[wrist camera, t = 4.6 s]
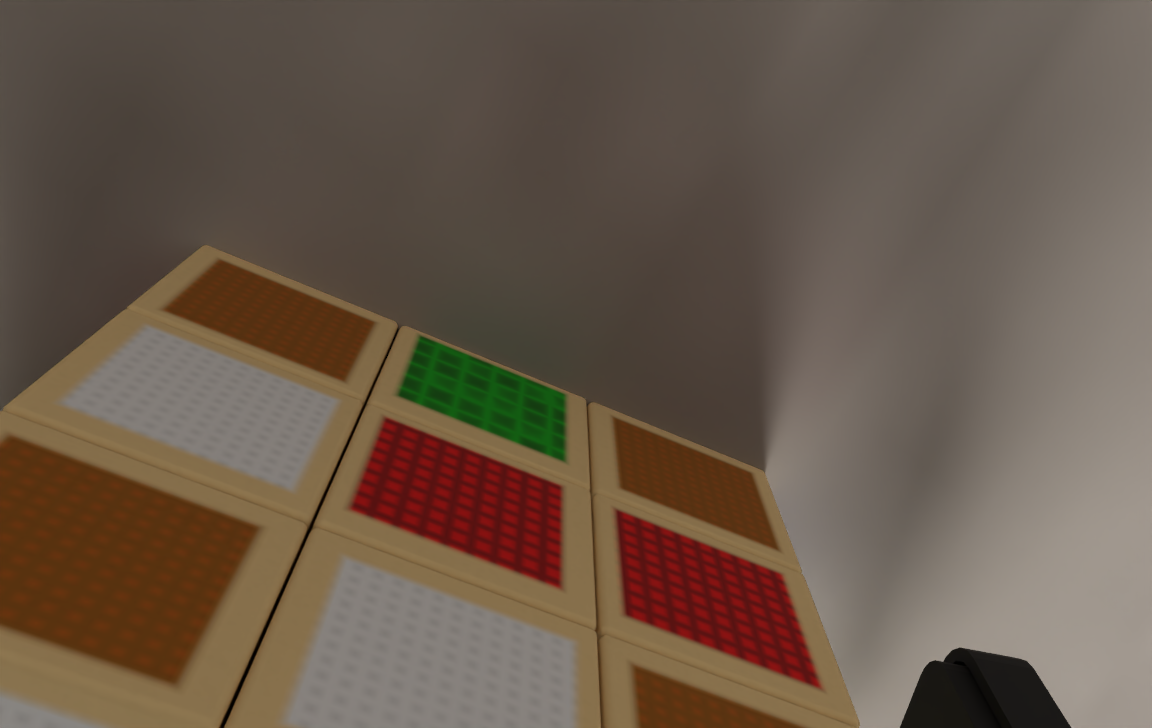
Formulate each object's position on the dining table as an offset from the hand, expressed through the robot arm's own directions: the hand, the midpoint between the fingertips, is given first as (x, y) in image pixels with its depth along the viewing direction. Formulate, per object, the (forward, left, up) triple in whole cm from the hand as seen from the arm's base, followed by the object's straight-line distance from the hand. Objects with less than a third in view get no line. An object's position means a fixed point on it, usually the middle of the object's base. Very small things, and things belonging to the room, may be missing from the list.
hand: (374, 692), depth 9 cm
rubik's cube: (0, 0, -2) cm, 2 cm away
